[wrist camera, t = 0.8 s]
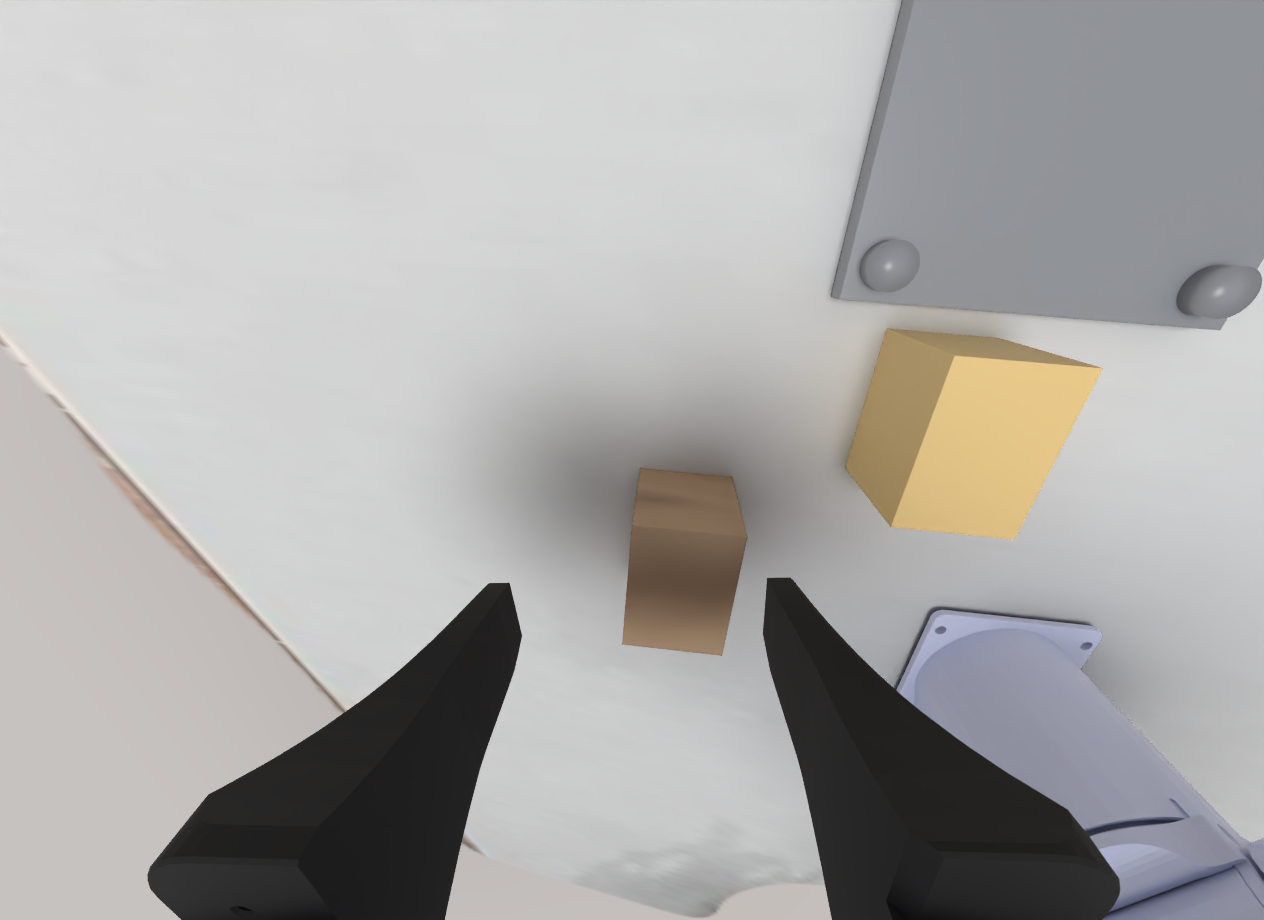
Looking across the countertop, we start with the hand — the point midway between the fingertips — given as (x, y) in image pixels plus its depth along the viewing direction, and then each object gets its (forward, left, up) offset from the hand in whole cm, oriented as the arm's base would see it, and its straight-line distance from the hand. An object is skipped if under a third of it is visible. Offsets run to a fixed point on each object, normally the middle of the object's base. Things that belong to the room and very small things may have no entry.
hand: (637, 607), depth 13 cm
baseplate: (+14, -13, -9) cm, 21 cm away
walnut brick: (-3, -2, -9) cm, 10 cm away
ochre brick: (+4, -11, -9) cm, 15 cm away
